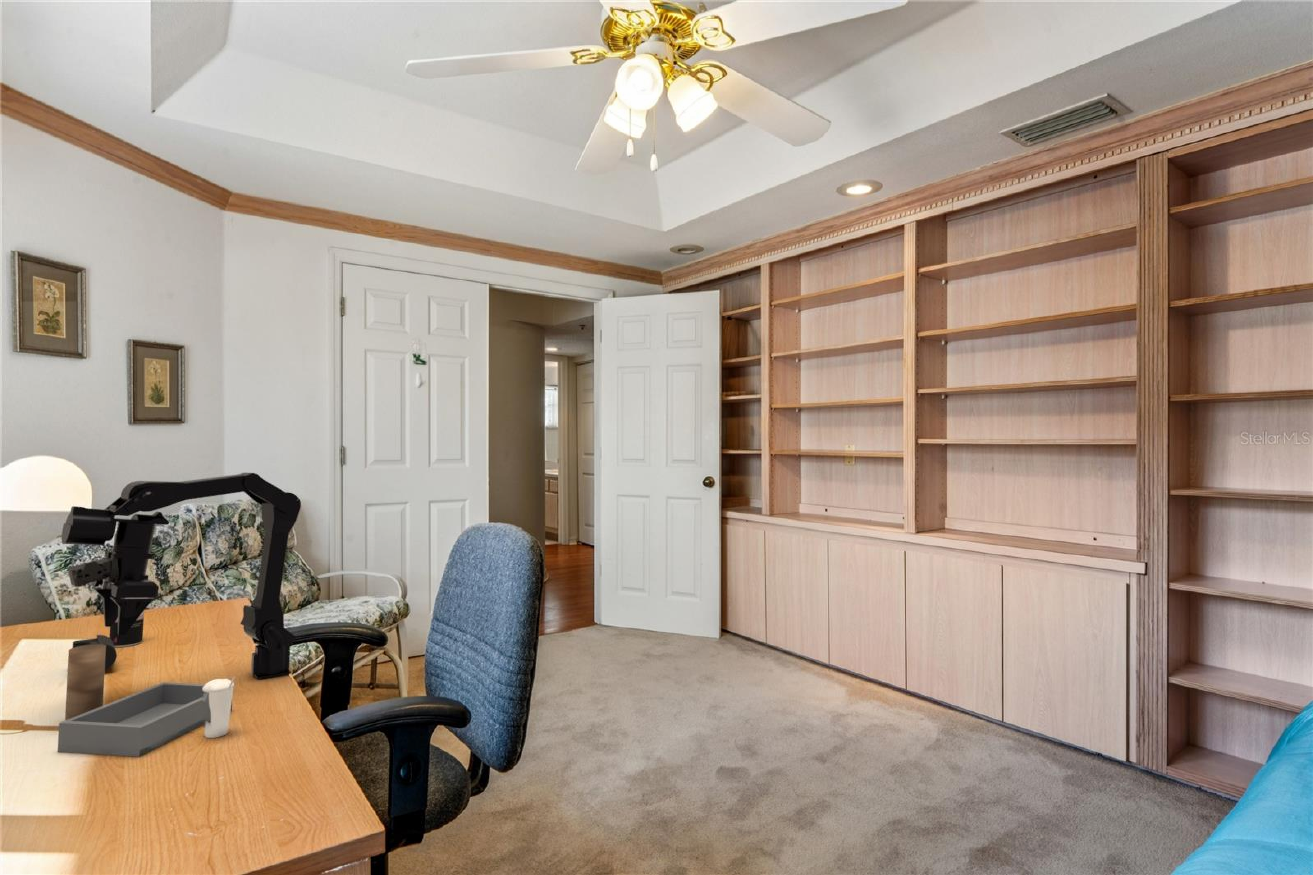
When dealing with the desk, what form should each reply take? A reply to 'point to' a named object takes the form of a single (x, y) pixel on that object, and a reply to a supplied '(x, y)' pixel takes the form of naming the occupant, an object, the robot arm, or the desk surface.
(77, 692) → the walnut cylinder
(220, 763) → the desk surface
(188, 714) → the tray
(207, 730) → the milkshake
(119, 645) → the beverage can
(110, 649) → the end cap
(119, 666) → the desk surface
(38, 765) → the desk surface
